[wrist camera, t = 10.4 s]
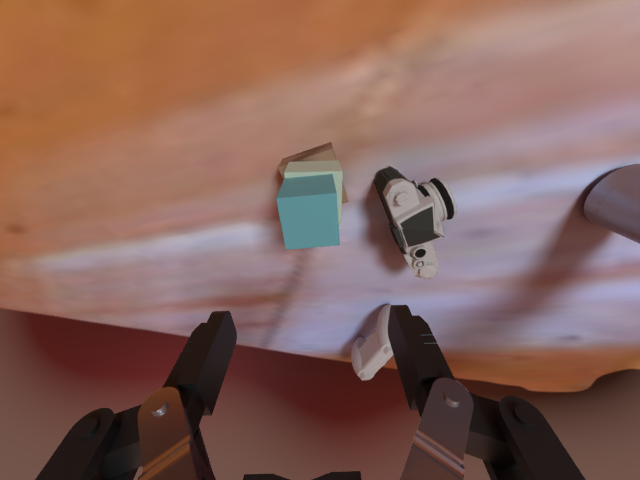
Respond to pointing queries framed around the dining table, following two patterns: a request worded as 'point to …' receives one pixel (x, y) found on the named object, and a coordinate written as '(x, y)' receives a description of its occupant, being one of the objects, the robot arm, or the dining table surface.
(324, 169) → the sage block
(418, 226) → the camera
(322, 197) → the teal block
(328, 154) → the walnut base block
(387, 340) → the game controller
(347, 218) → the dining table surface
